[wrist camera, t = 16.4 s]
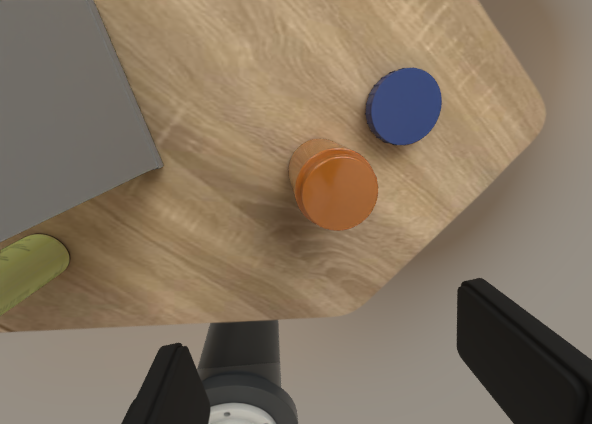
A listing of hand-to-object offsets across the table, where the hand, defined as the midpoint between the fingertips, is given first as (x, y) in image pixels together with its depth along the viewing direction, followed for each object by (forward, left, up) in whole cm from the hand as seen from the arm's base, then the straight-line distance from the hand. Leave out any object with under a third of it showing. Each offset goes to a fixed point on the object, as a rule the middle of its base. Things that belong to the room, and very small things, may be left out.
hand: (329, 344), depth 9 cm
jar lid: (+8, -11, -20) cm, 24 cm away
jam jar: (+2, -3, -21) cm, 22 cm away
